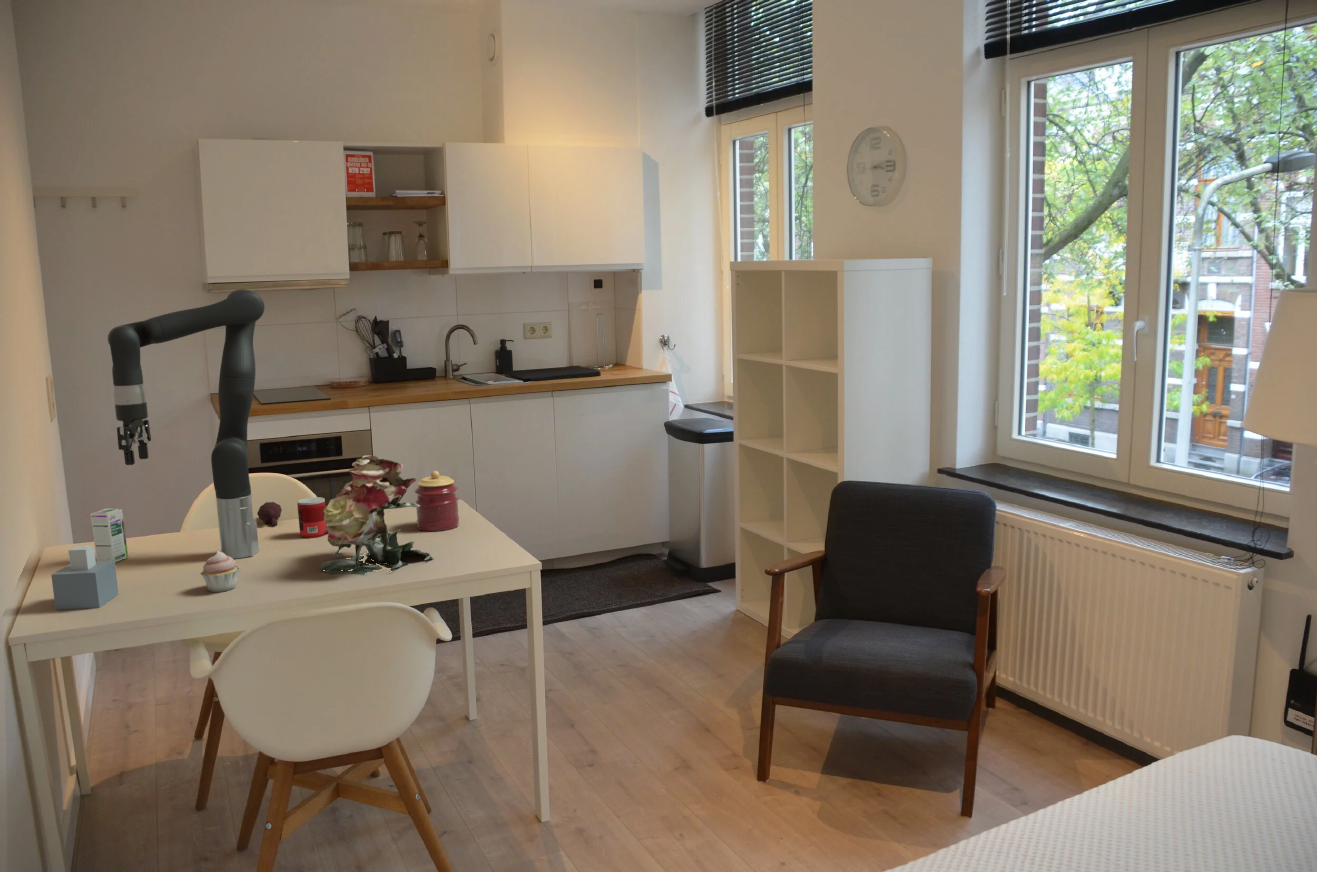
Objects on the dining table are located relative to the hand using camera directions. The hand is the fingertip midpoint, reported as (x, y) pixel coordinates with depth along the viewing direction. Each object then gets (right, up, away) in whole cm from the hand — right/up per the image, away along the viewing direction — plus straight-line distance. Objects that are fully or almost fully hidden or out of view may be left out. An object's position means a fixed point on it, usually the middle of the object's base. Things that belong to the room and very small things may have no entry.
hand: (137, 461), depth 269 cm
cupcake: (+28, -32, -13) cm, 45 cm away
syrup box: (-15, -29, +16) cm, 36 cm away
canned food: (+34, -24, +38) cm, 56 cm away
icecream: (+14, -21, +55) cm, 61 cm away
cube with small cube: (-1, -34, -21) cm, 40 cm away
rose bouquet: (+61, -28, +6) cm, 67 cm away
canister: (+71, -22, +45) cm, 86 cm away
